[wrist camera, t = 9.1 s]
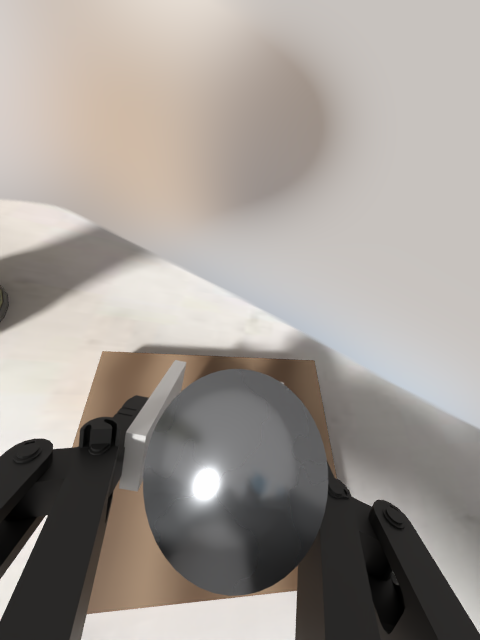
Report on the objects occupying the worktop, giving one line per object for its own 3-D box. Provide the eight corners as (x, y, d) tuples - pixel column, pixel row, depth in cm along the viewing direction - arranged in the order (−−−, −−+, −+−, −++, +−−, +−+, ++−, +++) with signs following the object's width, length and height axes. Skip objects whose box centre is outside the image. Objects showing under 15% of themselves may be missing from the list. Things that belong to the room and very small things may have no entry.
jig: (301, 370, 23) (314, 360, 20) (331, 562, 16) (356, 583, 13) (114, 363, 20) (102, 351, 18) (51, 589, 13) (17, 621, 11)
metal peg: (244, 414, 20) (311, 372, 9) (246, 495, 17) (348, 581, 6) (177, 413, 19) (160, 365, 8) (167, 499, 16) (119, 611, 5)
